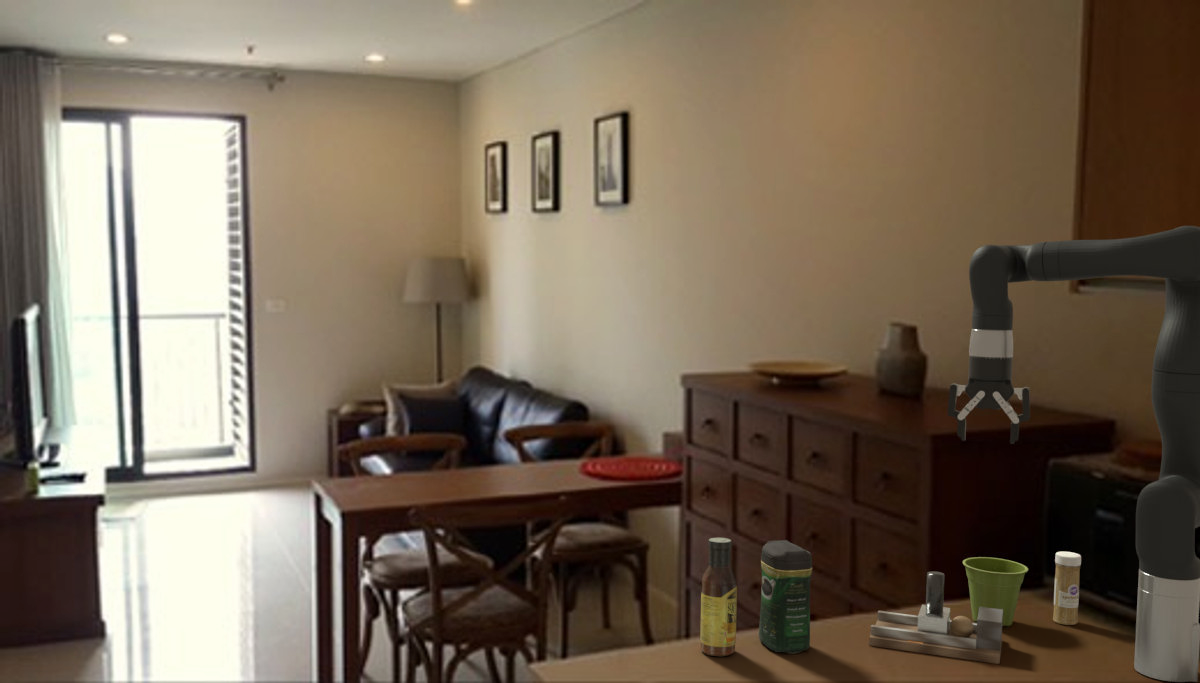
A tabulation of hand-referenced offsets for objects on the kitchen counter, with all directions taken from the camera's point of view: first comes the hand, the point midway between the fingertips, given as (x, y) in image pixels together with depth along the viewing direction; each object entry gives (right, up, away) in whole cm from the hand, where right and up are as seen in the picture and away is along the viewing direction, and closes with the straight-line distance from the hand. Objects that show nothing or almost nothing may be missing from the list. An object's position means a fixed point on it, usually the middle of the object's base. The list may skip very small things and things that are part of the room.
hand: (987, 441), depth 199 cm
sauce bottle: (-51, -36, -10) cm, 63 cm away
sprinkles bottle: (+19, -36, +10) cm, 42 cm away
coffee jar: (-39, -36, -6) cm, 53 cm away
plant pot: (+4, -36, +9) cm, 37 cm away
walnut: (-6, -33, -5) cm, 34 cm away
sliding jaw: (-11, -35, -3) cm, 36 cm away
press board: (-10, -36, -3) cm, 38 cm away
